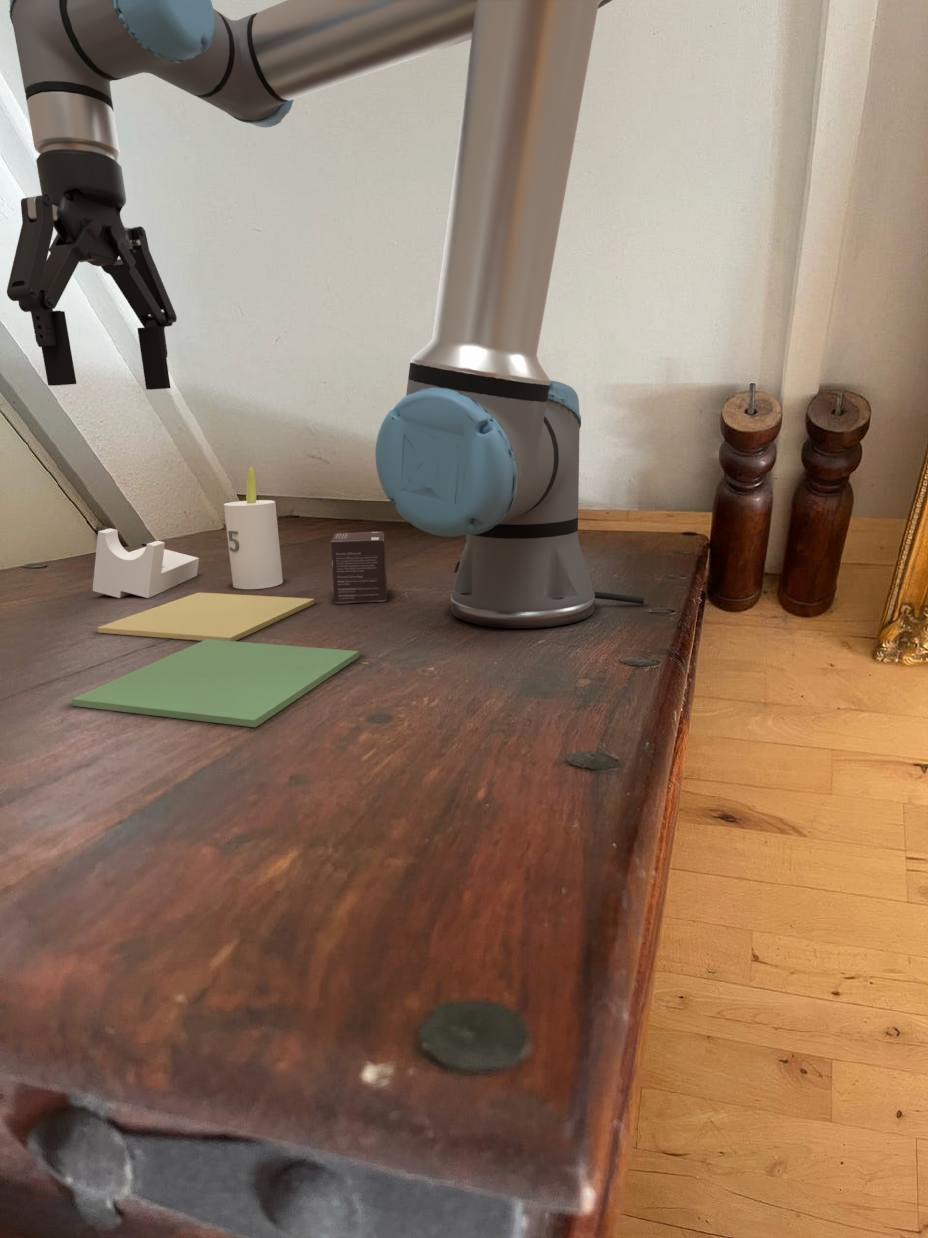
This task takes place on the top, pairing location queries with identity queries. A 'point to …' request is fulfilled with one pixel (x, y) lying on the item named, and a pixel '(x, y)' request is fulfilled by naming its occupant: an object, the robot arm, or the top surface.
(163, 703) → the green mat
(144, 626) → the cream mat
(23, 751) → the top surface
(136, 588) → the bracket
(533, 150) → the robot arm
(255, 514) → the candle
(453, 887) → the top surface
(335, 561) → the box
